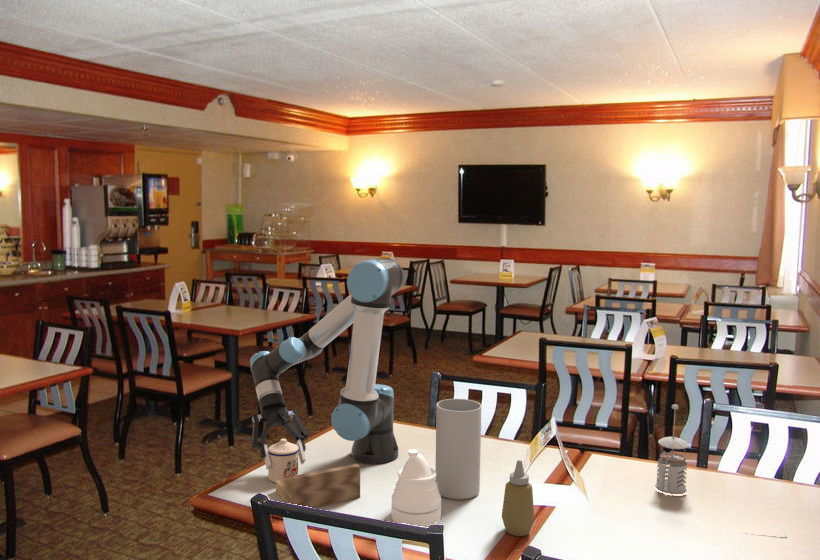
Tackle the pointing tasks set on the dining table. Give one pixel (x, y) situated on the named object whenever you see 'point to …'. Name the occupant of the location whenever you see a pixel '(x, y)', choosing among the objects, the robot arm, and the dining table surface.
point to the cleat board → (321, 486)
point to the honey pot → (416, 493)
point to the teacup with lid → (283, 460)
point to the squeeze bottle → (518, 503)
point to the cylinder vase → (458, 448)
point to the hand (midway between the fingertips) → (286, 464)
